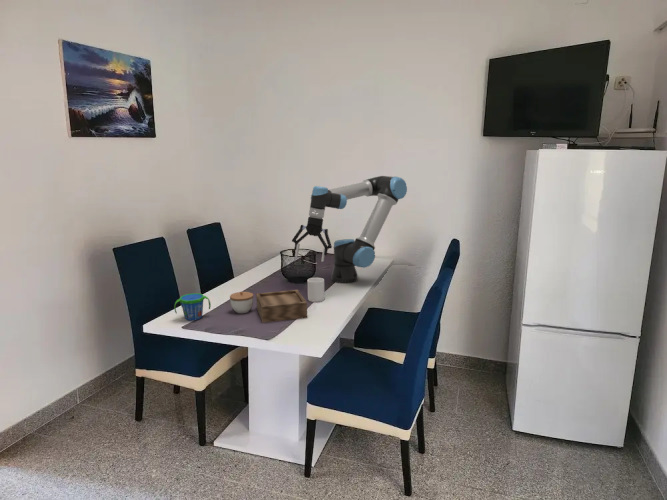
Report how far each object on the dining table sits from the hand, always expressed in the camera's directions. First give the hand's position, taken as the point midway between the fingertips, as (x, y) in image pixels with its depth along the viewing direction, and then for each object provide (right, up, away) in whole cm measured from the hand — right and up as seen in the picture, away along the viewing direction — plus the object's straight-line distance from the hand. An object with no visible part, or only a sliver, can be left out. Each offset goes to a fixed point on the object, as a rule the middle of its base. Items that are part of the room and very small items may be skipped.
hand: (309, 259), depth 243 cm
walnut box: (-12, -24, -20) cm, 34 cm away
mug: (+4, -20, -1) cm, 20 cm away
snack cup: (-51, -26, -26) cm, 63 cm away
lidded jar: (-30, -24, -17) cm, 43 cm away
